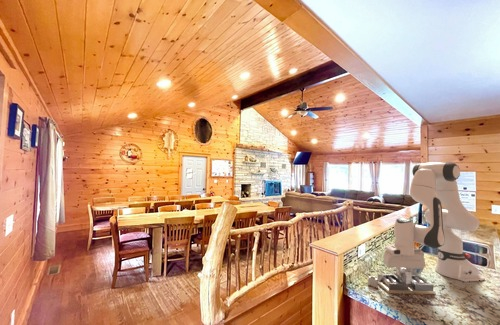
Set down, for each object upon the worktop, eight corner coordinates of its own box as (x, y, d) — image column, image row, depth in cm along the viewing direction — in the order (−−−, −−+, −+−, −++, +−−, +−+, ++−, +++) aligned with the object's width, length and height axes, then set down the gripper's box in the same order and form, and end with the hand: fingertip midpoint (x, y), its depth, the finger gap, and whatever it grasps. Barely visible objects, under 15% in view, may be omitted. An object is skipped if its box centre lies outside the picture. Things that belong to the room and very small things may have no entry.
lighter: (368, 285, 116) (368, 270, 116) (369, 283, 117) (369, 269, 117) (383, 290, 111) (383, 274, 111) (384, 289, 112) (384, 273, 112)
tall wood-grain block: (402, 277, 117) (402, 266, 117) (411, 283, 110) (411, 272, 110) (397, 276, 117) (397, 265, 118) (406, 283, 110) (406, 272, 111)
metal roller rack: (419, 283, 119) (419, 274, 119) (435, 294, 108) (435, 285, 108) (376, 281, 119) (376, 273, 119) (388, 292, 109) (388, 284, 109)
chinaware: (387, 270, 133) (387, 258, 133) (403, 267, 138) (403, 255, 138) (413, 282, 119) (413, 269, 119) (430, 278, 124) (430, 265, 124)
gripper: (419, 247, 117) (419, 272, 117) (381, 246, 118) (381, 271, 117) (428, 252, 111) (428, 278, 111) (389, 250, 111) (389, 277, 111)
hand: (404, 275), depth 114 cm, fingers closed on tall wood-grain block, 3 cm apart
